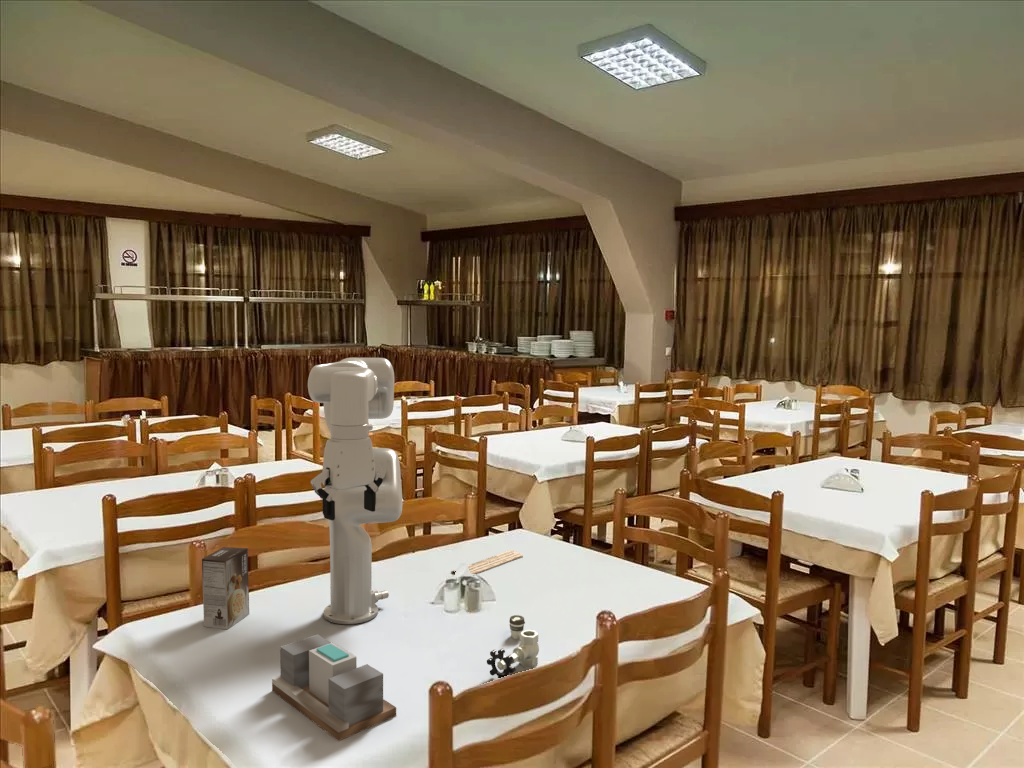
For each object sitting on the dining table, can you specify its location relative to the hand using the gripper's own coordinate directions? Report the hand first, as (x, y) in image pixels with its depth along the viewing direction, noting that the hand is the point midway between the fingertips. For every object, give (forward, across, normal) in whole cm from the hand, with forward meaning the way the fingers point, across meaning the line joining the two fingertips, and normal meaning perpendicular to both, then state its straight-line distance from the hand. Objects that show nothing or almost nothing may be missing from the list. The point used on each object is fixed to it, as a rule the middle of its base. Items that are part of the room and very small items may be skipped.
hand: (349, 514), depth 160 cm
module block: (+29, +13, +14) cm, 35 cm away
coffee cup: (+31, -32, +17) cm, 48 cm away
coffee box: (+31, +11, -34) cm, 47 cm away
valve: (+31, -21, +28) cm, 47 cm away
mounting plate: (+30, +13, +14) cm, 36 cm away
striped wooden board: (+31, -60, -22) cm, 71 cm away
